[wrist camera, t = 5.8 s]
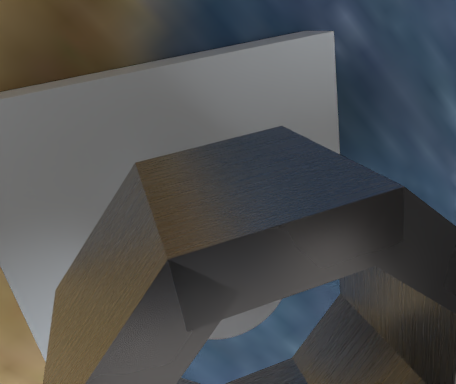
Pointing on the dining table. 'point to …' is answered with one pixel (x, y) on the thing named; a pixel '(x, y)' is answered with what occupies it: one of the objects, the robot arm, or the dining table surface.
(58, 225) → the shaft block
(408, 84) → the dining table surface
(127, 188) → the hub ring
